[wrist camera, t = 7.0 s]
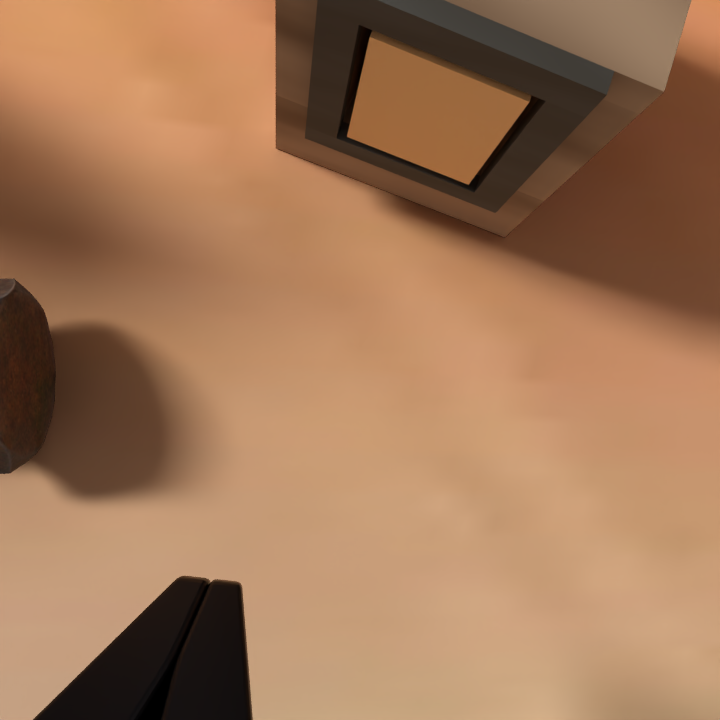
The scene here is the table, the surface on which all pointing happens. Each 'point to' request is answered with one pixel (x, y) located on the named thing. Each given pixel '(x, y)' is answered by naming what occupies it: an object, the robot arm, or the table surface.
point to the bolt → (23, 375)
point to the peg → (431, 109)
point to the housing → (493, 60)
